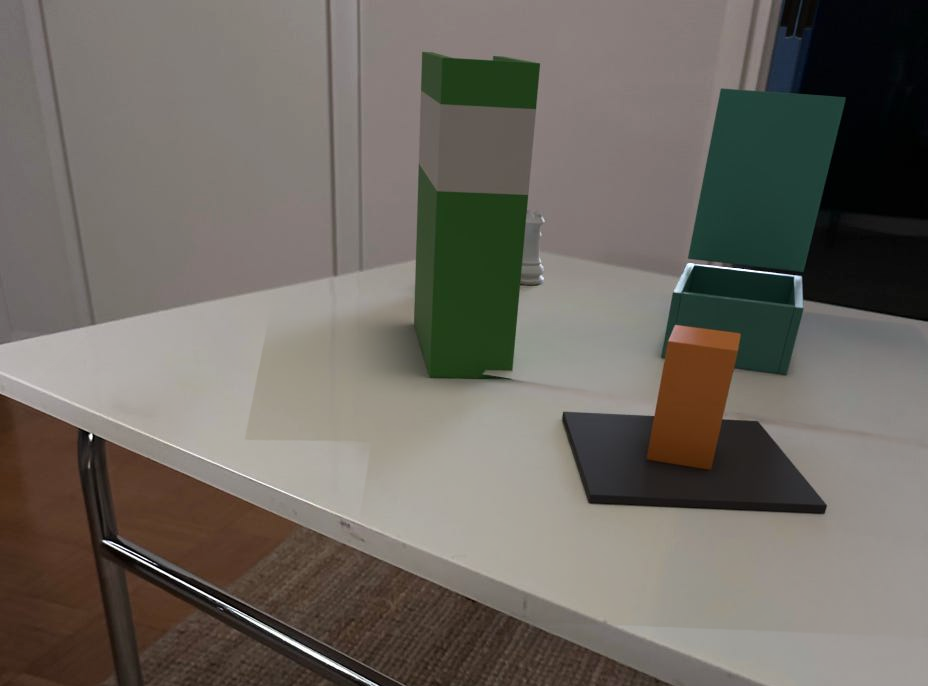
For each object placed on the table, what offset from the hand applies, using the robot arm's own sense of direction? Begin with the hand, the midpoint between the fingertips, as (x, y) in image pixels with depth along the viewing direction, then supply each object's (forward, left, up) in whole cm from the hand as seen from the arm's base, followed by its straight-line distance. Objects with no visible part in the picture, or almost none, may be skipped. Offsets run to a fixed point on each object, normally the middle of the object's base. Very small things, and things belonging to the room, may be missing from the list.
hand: (793, 37), depth 89 cm
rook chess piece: (+22, -15, -27) cm, 38 cm away
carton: (+15, +42, -26) cm, 52 cm away
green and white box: (+31, +16, -27) cm, 44 cm away
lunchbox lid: (+2, +5, -12) cm, 13 cm away
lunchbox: (+4, +13, -27) cm, 30 cm away
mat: (+15, +42, -27) cm, 52 cm away
